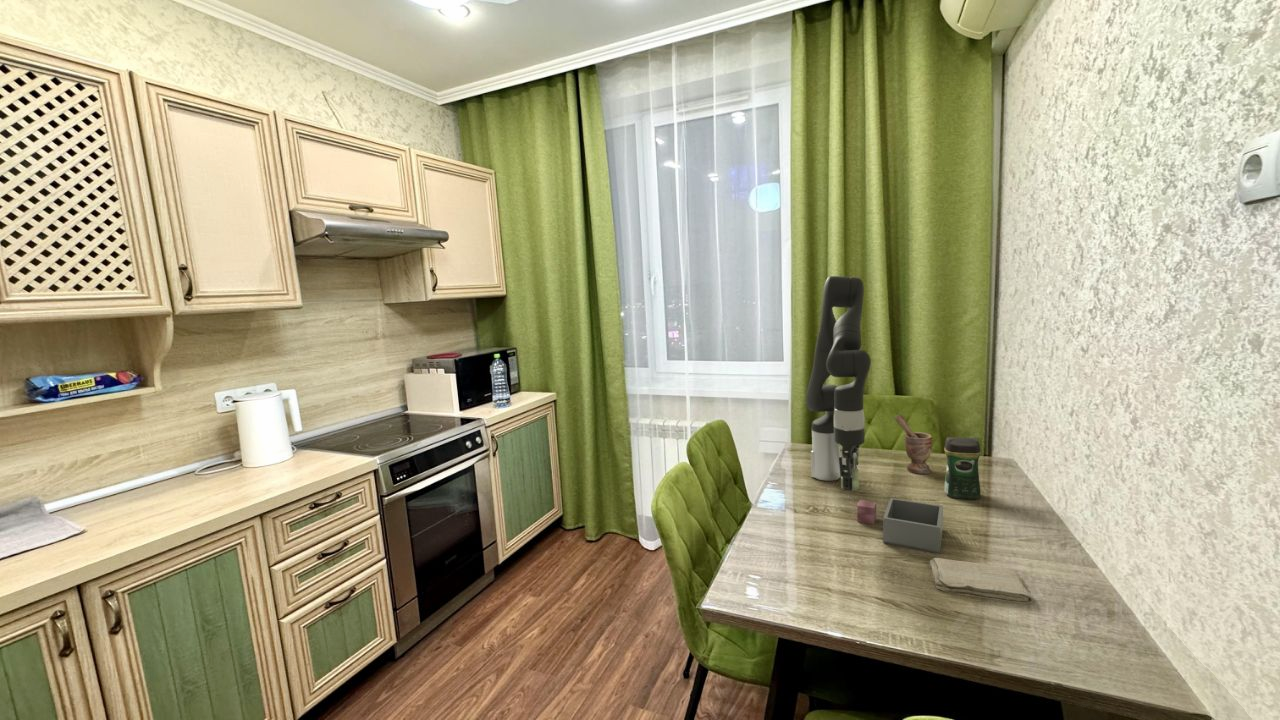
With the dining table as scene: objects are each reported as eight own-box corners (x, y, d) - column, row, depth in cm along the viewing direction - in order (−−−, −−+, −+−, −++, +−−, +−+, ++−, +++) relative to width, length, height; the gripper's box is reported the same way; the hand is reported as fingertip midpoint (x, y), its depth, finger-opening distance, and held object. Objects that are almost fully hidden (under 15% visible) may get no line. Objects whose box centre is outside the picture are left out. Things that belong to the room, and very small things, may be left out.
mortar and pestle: (896, 473, 180) (896, 418, 177) (893, 465, 188) (893, 412, 185) (933, 475, 176) (934, 419, 173) (929, 466, 184) (929, 413, 181)
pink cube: (857, 521, 148) (857, 505, 147) (860, 515, 151) (859, 499, 151) (873, 524, 145) (873, 508, 145) (876, 518, 149) (876, 502, 148)
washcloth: (928, 565, 124) (928, 553, 124) (1016, 576, 118) (1016, 564, 117) (936, 593, 114) (936, 581, 113) (1033, 607, 107) (1034, 593, 106)
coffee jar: (977, 491, 161) (979, 435, 159) (982, 501, 154) (983, 442, 152) (942, 488, 165) (943, 433, 163) (945, 498, 158) (946, 440, 156)
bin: (883, 542, 135) (883, 518, 134) (890, 520, 147) (890, 497, 146) (940, 553, 128) (940, 527, 127) (942, 529, 140) (943, 505, 139)
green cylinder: (839, 489, 136) (839, 471, 135) (842, 483, 140) (842, 465, 139) (856, 491, 134) (856, 473, 133) (860, 485, 137) (859, 467, 137)
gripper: (839, 416, 142) (840, 475, 145) (827, 431, 130) (828, 494, 133) (868, 419, 138) (869, 479, 141) (859, 434, 126) (859, 499, 129)
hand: (849, 486), depth 137 cm, fingers closed on green cylinder, 4 cm apart
